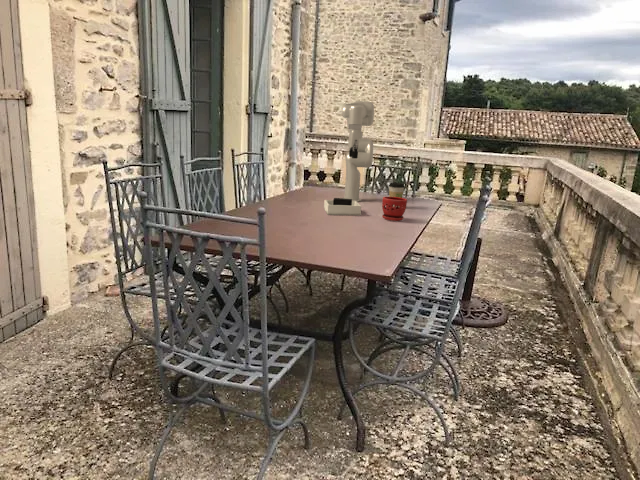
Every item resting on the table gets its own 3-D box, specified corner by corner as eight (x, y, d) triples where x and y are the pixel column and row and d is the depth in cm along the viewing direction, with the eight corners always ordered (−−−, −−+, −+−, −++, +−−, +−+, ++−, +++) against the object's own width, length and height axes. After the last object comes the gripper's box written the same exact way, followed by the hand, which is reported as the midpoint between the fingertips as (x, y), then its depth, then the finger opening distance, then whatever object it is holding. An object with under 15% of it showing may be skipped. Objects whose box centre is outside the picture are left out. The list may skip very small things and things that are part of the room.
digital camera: (351, 210, 279) (352, 198, 278) (350, 212, 274) (351, 200, 272) (333, 209, 281) (334, 197, 279) (332, 210, 275) (333, 198, 274)
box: (324, 209, 284) (324, 199, 283) (355, 210, 287) (355, 200, 285) (327, 214, 268) (328, 205, 267) (360, 215, 271) (361, 206, 269)
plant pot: (404, 222, 258) (406, 200, 255) (380, 220, 260) (381, 198, 257) (405, 218, 270) (407, 197, 267) (382, 216, 273) (383, 195, 270)
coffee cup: (403, 209, 297) (406, 184, 294) (387, 208, 298) (389, 184, 294) (401, 206, 307) (403, 182, 303) (386, 205, 307) (388, 181, 303)
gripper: (346, 126, 287) (344, 156, 291) (351, 127, 270) (349, 158, 275) (358, 127, 288) (356, 156, 292) (364, 128, 271) (362, 159, 276)
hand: (353, 157), depth 283 cm, fingers open, 9 cm apart
